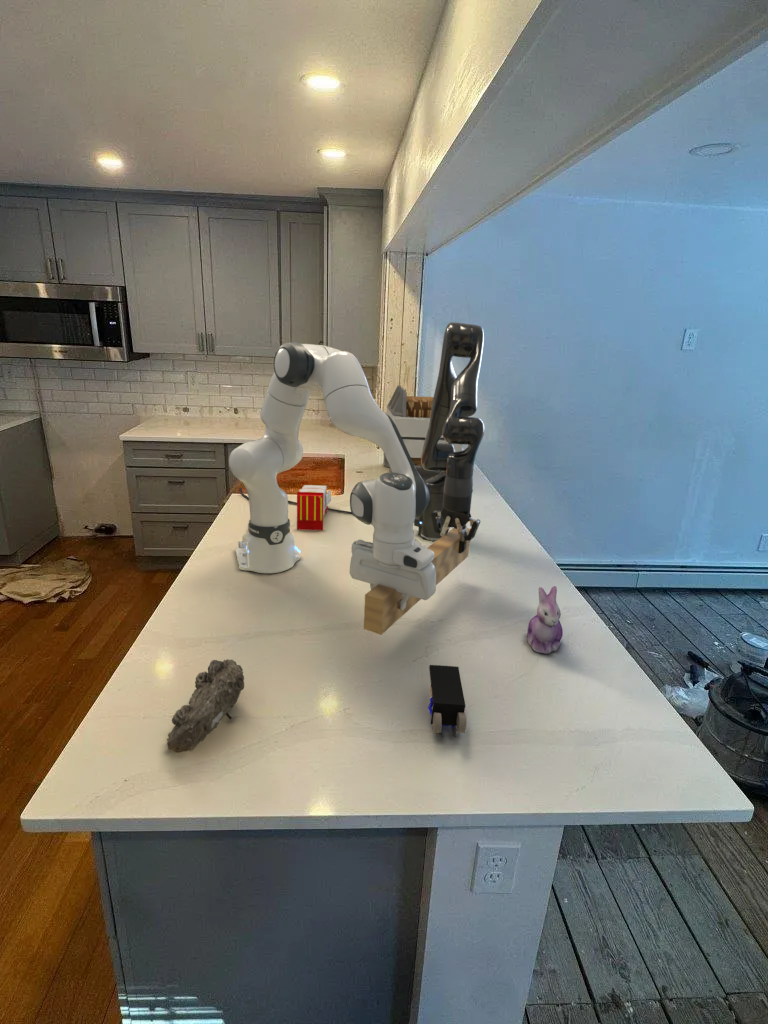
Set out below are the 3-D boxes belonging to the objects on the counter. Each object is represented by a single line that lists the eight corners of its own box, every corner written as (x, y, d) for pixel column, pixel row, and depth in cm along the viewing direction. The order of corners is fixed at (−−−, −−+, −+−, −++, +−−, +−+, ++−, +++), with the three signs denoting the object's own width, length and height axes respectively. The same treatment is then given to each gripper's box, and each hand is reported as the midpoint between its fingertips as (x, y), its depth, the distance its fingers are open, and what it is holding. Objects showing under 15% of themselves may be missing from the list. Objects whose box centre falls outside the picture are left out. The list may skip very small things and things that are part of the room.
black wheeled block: (466, 750, 104) (456, 690, 118) (471, 720, 101) (459, 662, 115) (430, 749, 104) (423, 690, 118) (433, 719, 101) (426, 661, 114)
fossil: (192, 660, 117) (244, 628, 112) (224, 691, 120) (276, 661, 115) (142, 746, 98) (202, 712, 93) (182, 779, 101) (242, 748, 96)
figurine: (544, 659, 130) (553, 602, 125) (515, 637, 139) (522, 582, 134) (574, 650, 135) (584, 594, 130) (544, 629, 143) (552, 575, 138)
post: (454, 552, 165) (456, 525, 163) (468, 556, 163) (471, 528, 161) (363, 629, 123) (364, 594, 120) (381, 635, 121) (382, 599, 118)
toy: (332, 480, 224) (326, 494, 194) (331, 513, 226) (326, 531, 197) (301, 479, 223) (291, 493, 194) (301, 513, 226) (291, 531, 197)
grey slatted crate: (382, 463, 289) (386, 382, 275) (445, 464, 293) (451, 384, 279) (390, 482, 257) (394, 392, 243) (460, 483, 261) (468, 394, 247)
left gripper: (344, 542, 125) (343, 598, 129) (428, 564, 116) (424, 623, 120) (359, 533, 130) (358, 587, 135) (441, 554, 121) (436, 611, 125)
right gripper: (427, 490, 151) (423, 549, 157) (478, 500, 145) (471, 561, 151) (439, 483, 157) (434, 540, 163) (488, 493, 151) (481, 551, 157)
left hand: (390, 604), depth 127 cm, fingers closed on post, 4 cm apart
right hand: (452, 550), depth 157 cm, fingers closed on post, 4 cm apart
